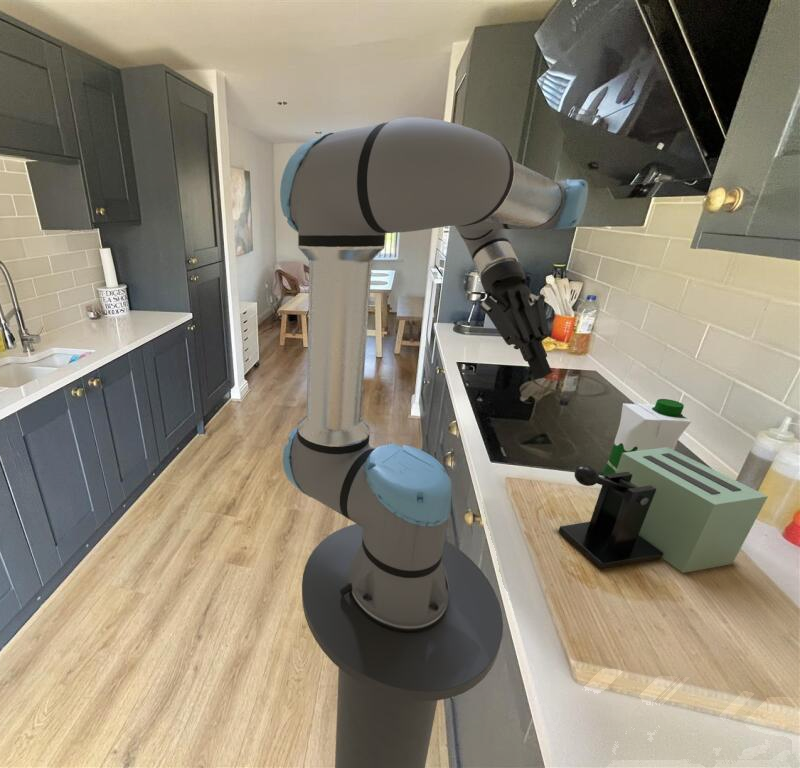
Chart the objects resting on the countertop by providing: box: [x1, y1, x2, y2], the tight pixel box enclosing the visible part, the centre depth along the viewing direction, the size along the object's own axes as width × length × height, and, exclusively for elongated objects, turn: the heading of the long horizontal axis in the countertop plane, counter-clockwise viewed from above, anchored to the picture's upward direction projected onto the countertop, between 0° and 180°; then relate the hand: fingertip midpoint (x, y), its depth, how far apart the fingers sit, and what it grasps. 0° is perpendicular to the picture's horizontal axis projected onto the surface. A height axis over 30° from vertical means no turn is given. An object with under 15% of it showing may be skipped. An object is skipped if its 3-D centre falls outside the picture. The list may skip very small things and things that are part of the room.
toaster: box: [616, 447, 769, 574], centre depth 70 cm, size 10×15×14 cm, turn 10°
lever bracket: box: [558, 472, 664, 571], centre depth 69 cm, size 12×9×14 cm
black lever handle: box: [574, 465, 637, 498], centre depth 65 cm, size 13×3×3 cm, turn 100°
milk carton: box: [602, 398, 692, 478], centre depth 83 cm, size 9×9×20 cm
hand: (543, 375), depth 72 cm, fingers closed
